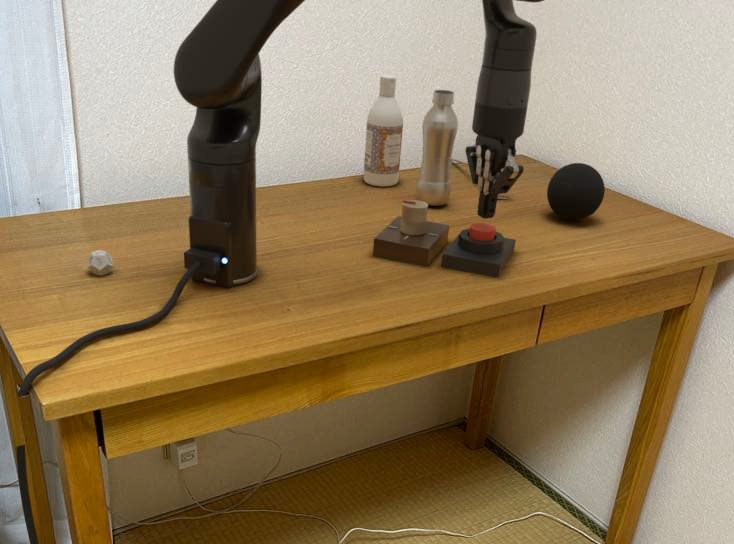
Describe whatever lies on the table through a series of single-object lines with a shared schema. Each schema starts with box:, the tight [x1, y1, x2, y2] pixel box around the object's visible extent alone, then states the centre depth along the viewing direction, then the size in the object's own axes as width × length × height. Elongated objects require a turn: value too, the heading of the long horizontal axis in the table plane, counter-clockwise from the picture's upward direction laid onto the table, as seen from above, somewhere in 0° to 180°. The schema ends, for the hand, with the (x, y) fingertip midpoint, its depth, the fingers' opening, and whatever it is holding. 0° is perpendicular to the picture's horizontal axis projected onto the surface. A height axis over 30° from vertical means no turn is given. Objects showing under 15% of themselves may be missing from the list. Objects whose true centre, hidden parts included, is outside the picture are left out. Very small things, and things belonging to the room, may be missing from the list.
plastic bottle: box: [415, 89, 459, 207], centre depth 148 cm, size 6×7×20 cm
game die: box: [86, 249, 114, 277], centre depth 118 cm, size 4×4×3 cm
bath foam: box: [363, 74, 404, 188], centre depth 158 cm, size 7×7×20 cm
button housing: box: [441, 227, 517, 279], centre depth 130 cm, size 12×9×4 cm
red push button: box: [469, 222, 497, 241], centre depth 129 cm, size 4×4×2 cm
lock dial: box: [400, 199, 429, 235], centre depth 130 cm, size 4×4×5 cm
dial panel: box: [372, 215, 450, 268], centre depth 132 cm, size 12×9×3 cm
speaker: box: [546, 162, 605, 221], centre depth 148 cm, size 10×10×10 cm
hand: (485, 216), depth 127 cm, fingers closed
